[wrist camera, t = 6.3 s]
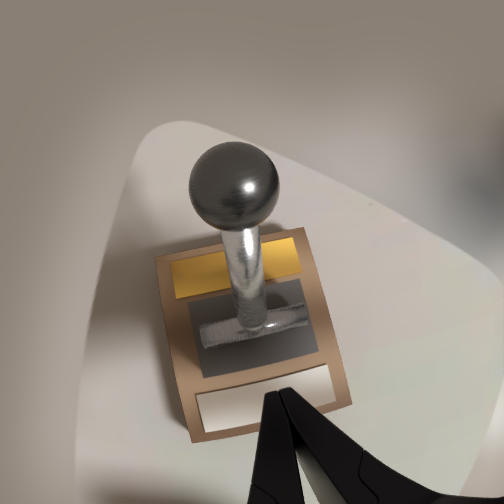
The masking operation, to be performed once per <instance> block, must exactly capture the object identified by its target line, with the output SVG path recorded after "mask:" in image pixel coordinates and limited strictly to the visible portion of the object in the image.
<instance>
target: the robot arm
mask: <svg viewBox="0 0 504 504" xmlns="http://www.w3.org/2000/svg"><path fill="white" fill-rule="evenodd" d="M363 450H364V449H363V448H362V447H361V446H360V445H359V444H357V443H356V442H355V441H354V440H352V439H351V438H350V437H349V436H348V435H346V434H345V433H344V432H343V431H342V430H340V429H339V428H338V427H337V426H336V425H334V424H333V423H332V422H331V421H330V420H328V419H327V418H326V417H325V416H324V415H323V414H321V413H320V412H319V411H318V410H317V409H316V408H315V407H313V406H312V405H311V404H310V403H309V402H308V401H307V400H305V399H304V398H303V397H302V396H301V395H300V394H299V393H298V392H296V391H295V390H294V389H293V388H292V387H286V388H282V389H279V390H278V391H277V390H274V391H271V392H267V393H265V395H264V401H263V408H262V415H261V422H260V429H259V436H258V442H257V449H256V456H255V462H254V468H253V474H252V481H251V483H252V484H251V486H250V492H249V497H248V502H247V504H305V501H304V496H303V490H302V485H301V479H300V474H299V468H298V463H297V459H298V461H299V463H300V465H301V467H302V469H303V471H304V473H305V475H306V477H307V479H308V481H309V483H310V485H311V487H312V489H313V491H314V493H315V495H316V497H317V499H318V501H319V503H320V504H504V496H503V497H499V498H483V497H467V496H466V497H465V496H455V495H446V494H442V493H438V492H435V491H432V490H430V489H428V488H426V487H424V486H422V485H420V484H418V483H416V482H415V481H413V480H411V479H409V478H407V477H405V476H403V475H402V474H400V473H398V472H396V471H395V470H393V469H391V468H390V467H388V466H386V465H385V464H383V463H382V462H381V461H379V460H378V459H377V458H375V457H374V456H373V455H371V454H370V453H369V452H367V451H366V450H364V451H363Z"/></svg>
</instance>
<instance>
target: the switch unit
mask: <svg viewBox="0 0 504 504" xmlns="http://www.w3.org/2000/svg"><path fill="white" fill-rule="evenodd" d="M260 238H261V249H262V259H263V270H264V281H265V291H266V302H267V310H270V309H274V308H278V307H282V306H287V305H291V304H295V303H299V302H303V304H304V306H305V308H306V311H307V316H308V325H307V326H304V327H300V328H297V329H293V330H289V331H285V332H281V333H276V334H272V335H268V336H264V337H259V338H255V339H251V340H246V341H242V342H237V343H232V344H228V345H223V346H218V347H213V348H208V349H204V347H203V344H202V340H201V336H200V330H199V325H200V324H205V323H210V322H215V321H219V320H224V319H229V318H234V317H237V315H236V310H235V305H234V300H233V295H232V290H231V285H230V279H229V274H228V269H227V264H226V258H225V253H224V248H223V243H221V244H216V245H212V246H207V247H202V248H197V249H192V250H187V251H183V252H178V253H173V254H168V255H164V256H159V257H155V262H156V270H157V277H158V284H159V290H160V297H161V303H162V309H163V315H164V321H165V326H166V332H167V337H168V342H169V348H170V353H171V358H172V362H173V367H174V372H175V377H176V381H177V386H178V390H179V394H180V398H181V403H182V407H183V411H184V415H185V419H186V423H187V427H188V430H189V434H190V438H191V441H192V443H198V442H205V441H211V440H217V439H223V438H228V437H234V436H239V435H244V434H249V433H253V432H258V431H259V429H260V422H261V415H262V408H263V401H264V395H265V393H267V392H271V391H274V390H277V391H278V390H279V389H282V388H286V387H292V388H293V389H294V390H295V391H296V392H298V393H299V394H300V395H301V396H302V397H303V398H304V399H305V400H307V401H308V402H309V403H310V404H311V405H312V406H313V407H315V408H316V409H317V410H318V411H319V412H320V413H321V414H325V413H328V412H331V411H334V410H337V409H340V408H343V407H346V406H349V405H352V400H351V396H350V392H349V388H348V383H347V379H346V375H345V371H344V367H343V363H342V359H341V355H340V351H339V347H338V344H337V340H336V336H335V332H334V329H333V325H332V321H331V317H330V314H329V310H328V307H327V303H326V300H325V296H324V292H323V289H322V286H321V282H320V279H319V275H318V272H317V268H316V265H315V262H314V258H313V255H312V252H311V249H310V245H309V242H308V239H307V236H306V233H305V229H304V227H301V228H296V229H291V230H286V231H281V232H276V233H271V234H266V235H261V236H260Z"/></svg>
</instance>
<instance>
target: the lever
mask: <svg viewBox="0 0 504 504" xmlns="http://www.w3.org/2000/svg"><path fill="white" fill-rule="evenodd" d="M279 190H280V183H279V176H278V173H277V170H276V168H275V166H274V164H273V162H272V161H271V159H270V158H269V157H268V156H267V155H266V154H265V153H264V152H263V151H261V150H260V149H258V148H257V147H255V146H253V145H250V144H247V143H243V142H226V143H222V144H219V145H216V146H214V147H212V148H210V149H209V150H207V151H206V152H205V153H204V154H203V155H202V156H201V157H200V158H199V159H198V160H197V162H196V163H195V165H194V167H193V169H192V171H191V175H190V179H189V196H190V199H191V203H192V205H193V207H194V209H195V211H196V212H197V214H198V215H199V216H200V217H201V218H202V219H203V220H204V221H205V222H206V223H208V224H209V225H211V226H213V227H215V228H217V229H219V230H220V231H221V237H222V242H223V248H224V253H225V258H226V264H227V269H228V274H229V279H230V285H231V290H232V295H233V300H234V305H235V310H236V315H237V317H234V318H229V319H224V320H219V321H215V322H210V323H205V324H200V325H199V330H200V336H201V340H202V344H203V347H204V349H208V348H213V347H218V346H223V345H228V344H232V343H237V342H242V341H246V340H251V339H255V338H259V337H264V336H268V335H272V334H276V333H281V332H285V331H289V330H293V329H297V328H300V327H304V326H307V325H308V316H307V311H306V308H305V306H304V304H303V302H299V303H295V304H291V305H287V306H282V307H278V308H274V309H270V310H267V302H266V291H265V281H264V270H263V259H262V249H261V238H260V228H259V224H260V223H262V222H263V221H264V220H265V219H266V218H267V217H268V216H269V215H270V214H271V212H272V211H273V209H274V207H275V205H276V203H277V200H278V197H279Z"/></svg>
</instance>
